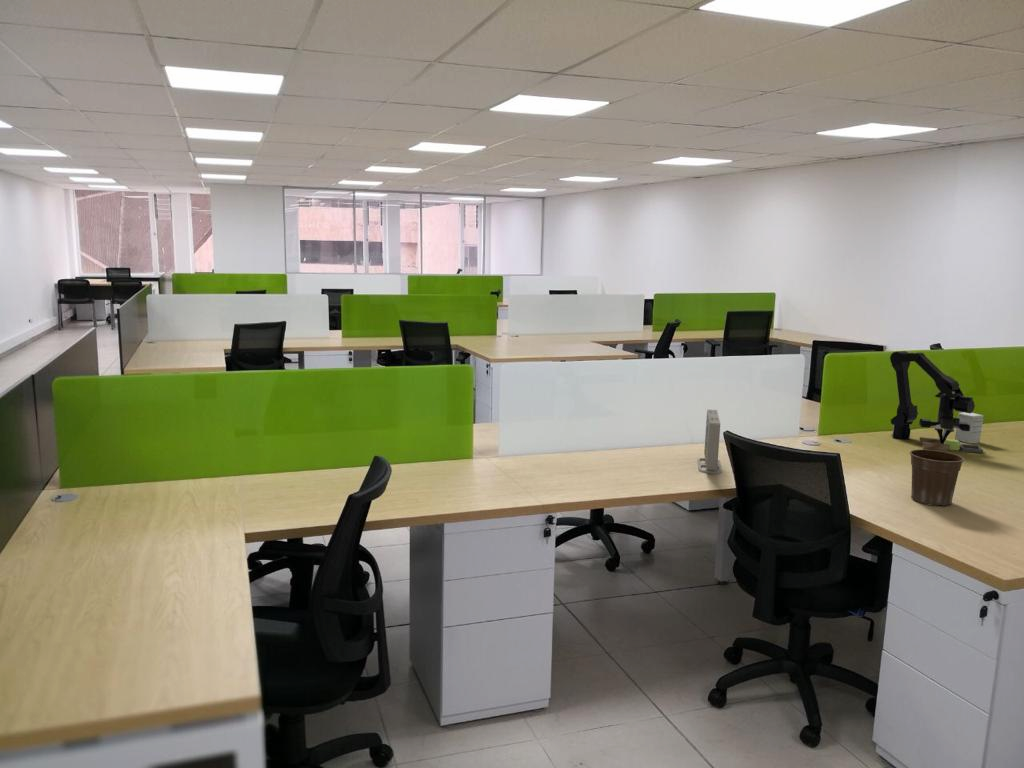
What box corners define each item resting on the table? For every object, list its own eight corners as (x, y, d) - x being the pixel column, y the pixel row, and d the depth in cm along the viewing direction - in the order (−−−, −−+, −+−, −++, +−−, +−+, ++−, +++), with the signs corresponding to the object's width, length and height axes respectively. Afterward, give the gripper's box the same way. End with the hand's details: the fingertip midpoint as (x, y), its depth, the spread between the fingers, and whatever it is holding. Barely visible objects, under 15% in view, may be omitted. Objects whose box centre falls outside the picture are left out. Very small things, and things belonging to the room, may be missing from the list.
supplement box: (954, 440, 352) (957, 412, 350) (964, 438, 355) (968, 411, 353) (969, 443, 346) (973, 416, 344) (980, 442, 349) (984, 414, 347)
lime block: (945, 449, 336) (946, 441, 335) (943, 446, 340) (944, 439, 340) (958, 450, 334) (959, 442, 333) (956, 448, 339) (957, 440, 338)
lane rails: (922, 448, 336) (923, 442, 335) (919, 442, 346) (919, 437, 346) (949, 451, 332) (949, 445, 332) (944, 445, 343) (945, 439, 342)
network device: (723, 476, 288) (726, 423, 285) (698, 474, 290) (702, 422, 287) (719, 458, 313) (722, 409, 310) (696, 456, 315) (700, 408, 311)
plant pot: (910, 490, 277) (916, 446, 274) (962, 500, 267) (968, 454, 264) (899, 501, 265) (904, 455, 262) (952, 512, 254) (958, 464, 252)
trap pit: (962, 451, 332) (962, 448, 332) (958, 447, 339) (959, 443, 339) (982, 453, 330) (983, 450, 329) (979, 449, 337) (979, 445, 337)
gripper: (924, 410, 331) (920, 446, 334) (974, 414, 325) (970, 450, 327) (921, 405, 341) (916, 440, 344) (969, 409, 335) (964, 444, 338)
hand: (941, 444), depth 338 cm, fingers closed
